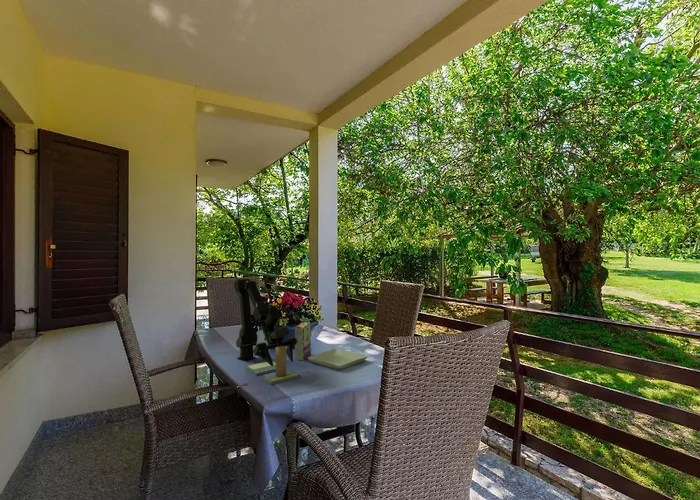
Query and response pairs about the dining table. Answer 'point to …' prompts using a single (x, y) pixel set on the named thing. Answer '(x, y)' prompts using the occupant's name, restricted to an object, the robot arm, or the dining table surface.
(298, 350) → the candy bar box
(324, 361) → the salad plate
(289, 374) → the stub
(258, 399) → the dining table surface
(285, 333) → the robot arm
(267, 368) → the ticket
